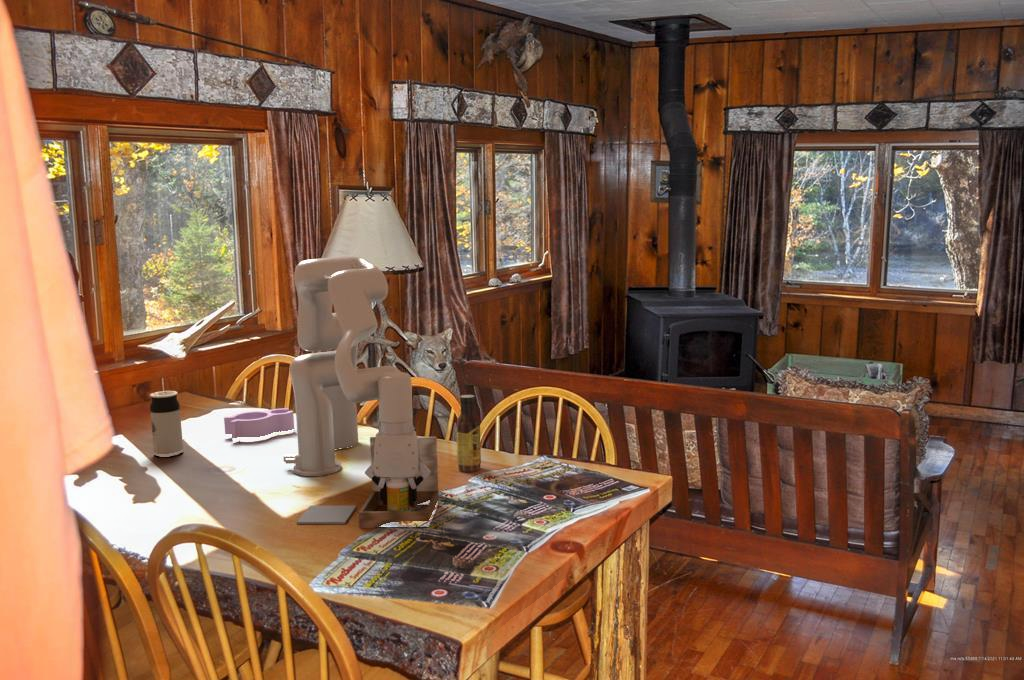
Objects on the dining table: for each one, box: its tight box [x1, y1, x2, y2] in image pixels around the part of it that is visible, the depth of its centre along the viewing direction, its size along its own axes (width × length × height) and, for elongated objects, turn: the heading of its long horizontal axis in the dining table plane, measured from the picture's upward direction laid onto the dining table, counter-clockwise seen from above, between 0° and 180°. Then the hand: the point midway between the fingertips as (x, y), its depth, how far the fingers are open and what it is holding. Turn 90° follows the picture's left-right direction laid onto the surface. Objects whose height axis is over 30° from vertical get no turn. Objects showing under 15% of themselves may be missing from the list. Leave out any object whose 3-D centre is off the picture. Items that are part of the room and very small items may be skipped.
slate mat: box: [296, 505, 357, 525], centre depth 216 cm, size 11×11×1 cm
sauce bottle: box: [456, 394, 482, 473], centre depth 249 cm, size 6×6×20 cm
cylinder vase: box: [322, 386, 359, 449], centre depth 276 cm, size 12×12×25 cm
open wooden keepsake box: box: [358, 436, 440, 529], centre depth 214 cm, size 16×16×16 cm
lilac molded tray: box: [223, 407, 295, 438], centre depth 290 cm, size 20×12×7 cm, turn 124°
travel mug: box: [149, 390, 184, 454], centre depth 270 cm, size 8×8×18 cm
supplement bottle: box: [386, 478, 412, 511], centre depth 215 cm, size 5×5×10 cm
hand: (398, 502), depth 215 cm, fingers closed on supplement bottle, 5 cm apart
